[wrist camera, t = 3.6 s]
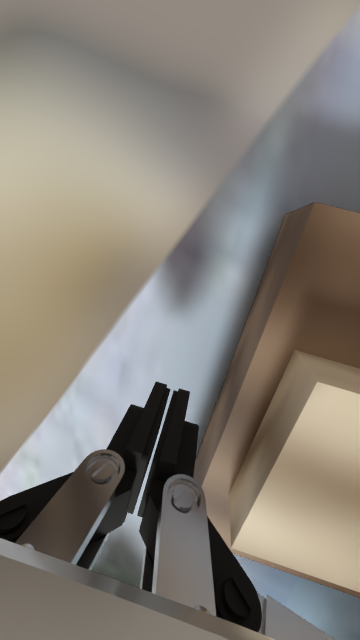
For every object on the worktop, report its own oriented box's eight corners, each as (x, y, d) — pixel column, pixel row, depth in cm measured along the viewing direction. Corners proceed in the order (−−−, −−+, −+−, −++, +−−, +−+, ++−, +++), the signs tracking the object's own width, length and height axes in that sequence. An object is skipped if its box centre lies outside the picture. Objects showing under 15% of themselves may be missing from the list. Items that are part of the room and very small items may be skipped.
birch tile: (357, 536, 13) (388, 602, 11) (228, 493, 13) (231, 548, 11) (465, 399, 10) (541, 448, 8) (294, 349, 10) (317, 381, 8)
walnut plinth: (374, 537, 18) (415, 617, 14) (189, 476, 19) (181, 535, 15) (577, 289, 12) (752, 311, 8) (285, 214, 12) (314, 201, 9)
